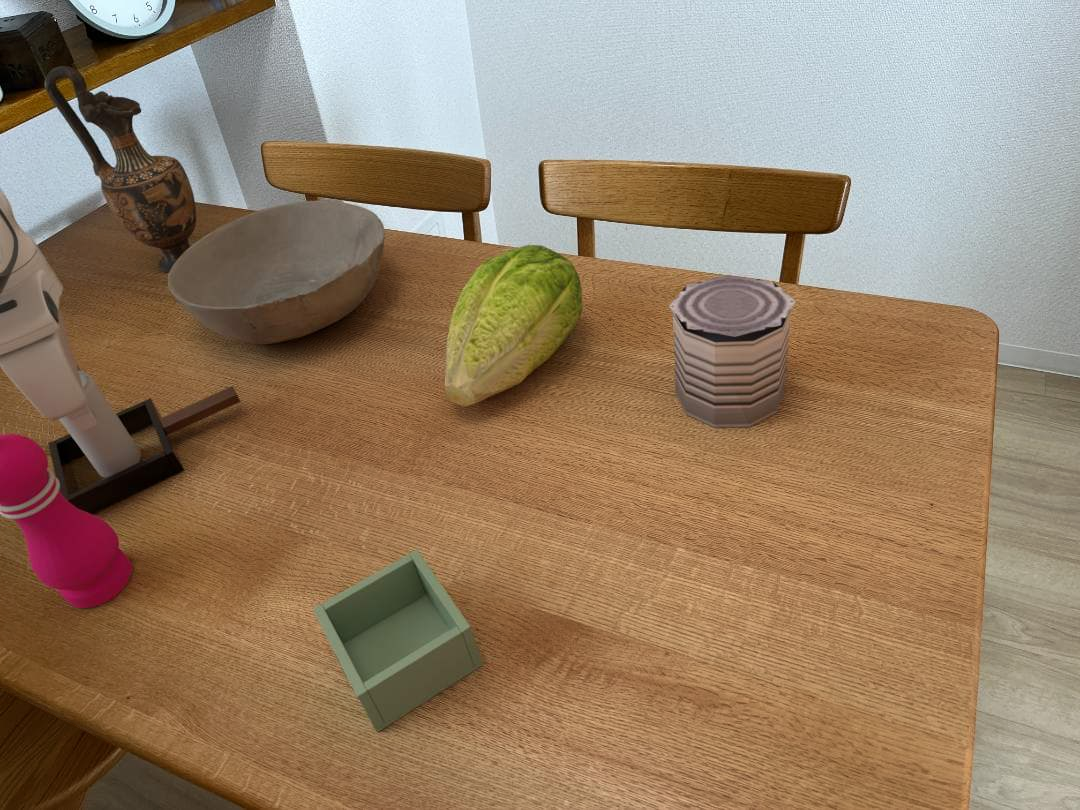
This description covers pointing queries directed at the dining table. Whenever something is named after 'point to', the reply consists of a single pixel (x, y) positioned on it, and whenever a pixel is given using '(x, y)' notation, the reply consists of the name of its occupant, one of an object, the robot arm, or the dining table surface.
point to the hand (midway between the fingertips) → (82, 401)
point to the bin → (398, 638)
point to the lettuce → (509, 321)
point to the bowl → (281, 270)
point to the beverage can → (103, 434)
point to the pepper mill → (59, 529)
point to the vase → (131, 170)
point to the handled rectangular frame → (144, 471)
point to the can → (731, 349)
